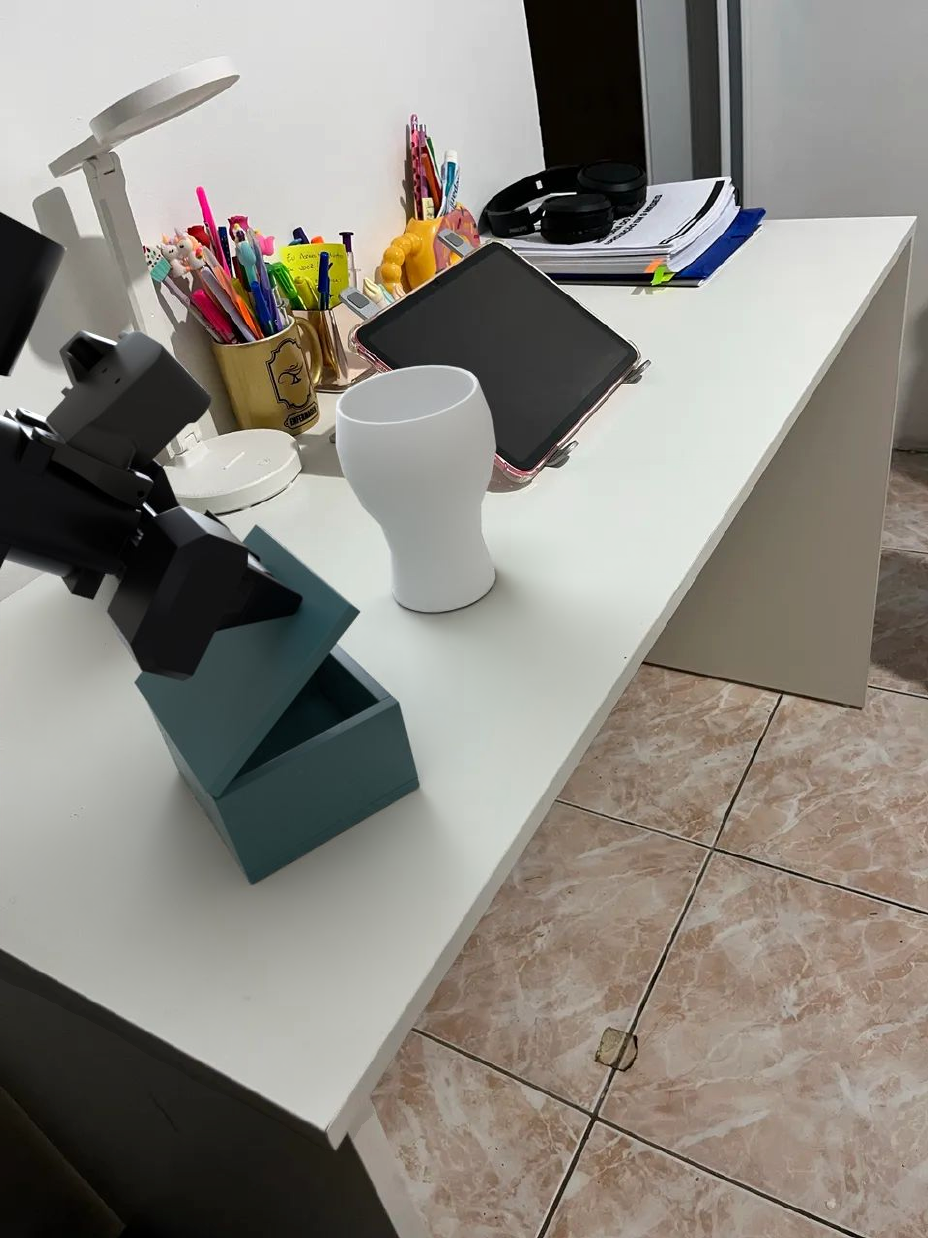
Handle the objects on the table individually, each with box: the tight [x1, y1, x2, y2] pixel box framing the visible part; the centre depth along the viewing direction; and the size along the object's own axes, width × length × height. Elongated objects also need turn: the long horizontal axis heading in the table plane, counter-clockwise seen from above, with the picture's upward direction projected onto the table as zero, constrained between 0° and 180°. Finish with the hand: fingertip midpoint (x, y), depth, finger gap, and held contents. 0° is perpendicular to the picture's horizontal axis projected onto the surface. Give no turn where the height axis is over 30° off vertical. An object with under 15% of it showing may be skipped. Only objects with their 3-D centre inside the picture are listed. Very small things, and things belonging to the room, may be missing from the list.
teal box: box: [147, 642, 421, 885], centre depth 54 cm, size 11×12×6 cm
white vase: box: [335, 364, 497, 613], centre depth 66 cm, size 11×11×15 cm
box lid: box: [134, 523, 361, 797], centre depth 49 cm, size 11×12×4 cm
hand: (276, 584), depth 50 cm, fingers closed on box lid, 5 cm apart
